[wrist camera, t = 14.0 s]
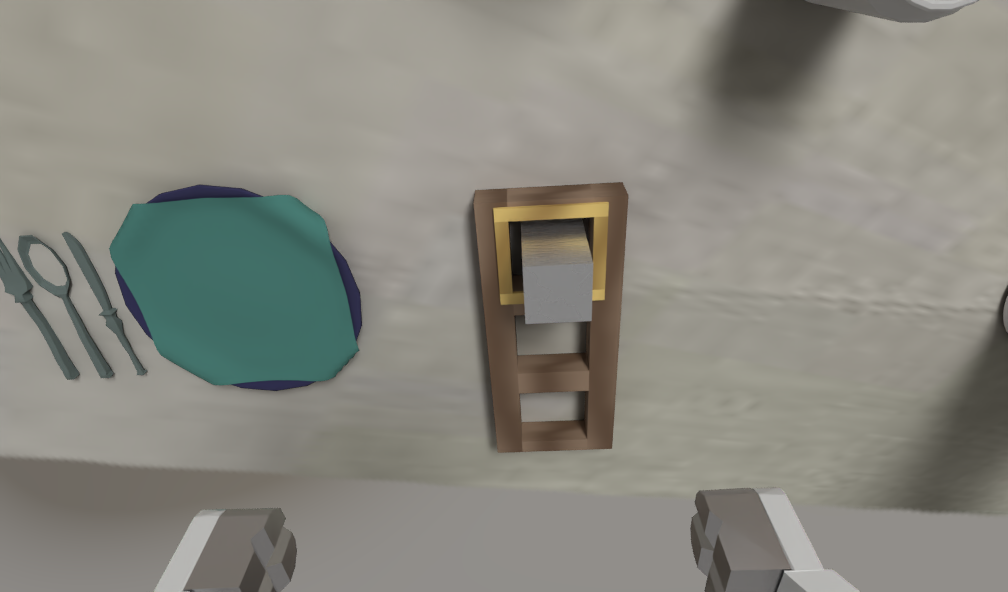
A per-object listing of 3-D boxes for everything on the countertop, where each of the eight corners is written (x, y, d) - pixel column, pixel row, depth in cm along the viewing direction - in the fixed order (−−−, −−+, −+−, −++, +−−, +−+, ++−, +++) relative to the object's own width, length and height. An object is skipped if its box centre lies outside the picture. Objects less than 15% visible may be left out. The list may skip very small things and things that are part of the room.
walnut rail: (622, 182, 41) (629, 197, 39) (608, 429, 55) (612, 451, 53) (475, 190, 42) (473, 205, 39) (498, 433, 56) (497, 455, 54)
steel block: (580, 212, 43) (593, 263, 36) (579, 263, 45) (591, 321, 39) (520, 215, 43) (522, 266, 36) (523, 266, 45) (525, 323, 39)
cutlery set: (386, 373, 52) (381, 390, 50) (81, 384, 54) (65, 401, 52) (338, 168, 41) (329, 179, 39) (-40, 191, 43) (-66, 202, 41)
